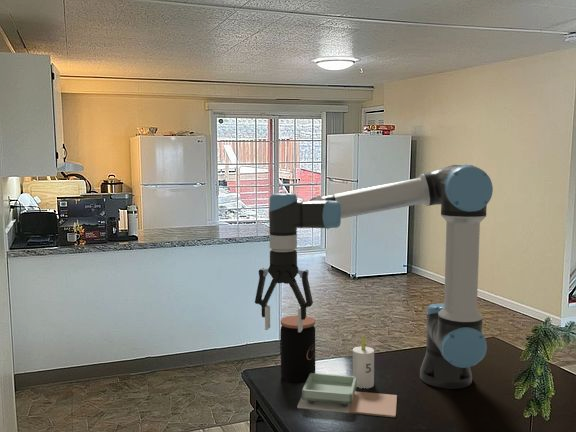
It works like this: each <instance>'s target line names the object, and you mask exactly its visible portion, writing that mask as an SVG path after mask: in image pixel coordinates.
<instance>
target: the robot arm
mask: <svg viewBox="0 0 576 432" xmlns="http://www.w3.org/2000/svg"><path fill="white" fill-rule="evenodd" d="M493 188H494V187H493V182H492V180H491V178H490V176H489V175H488V174H487V173H486V171H484V170H483V169H481V168H480V167H477V166H474V165H472V164H471V165H470V164H464V165H463V164H462V165H461V164H452V165H448V166H445V167H442V168H439V169H436V170H432V171H429V172H424V173H421V174H420V175H419V176H418V177H417V178H412V179H406V180H401V181H396V182H389V183H385V184H380V185H374V186H371V187H370V186H369V187H366V188H364V187H363V188H360V189H355V190H348V191H344V192H338V193H334V194H328V195H323V196H320V195H319V196H317V195H316V196H314V197H312V198H311V199H309V200H298V197H297V196H298V195H297V194H296V193H293V192H291V193H289V192H281V193H280V192H279V193H278V192H277V193H272V194H271V195H270V196H269V208H268V216H269V217H268V219H269V221H268V222H269V224H268V225H269V249H271V250H270V251H269V267H268V268H264V267H262V268H260V269H259V270H258V277H259V279H258V283H257V289H256V294H255V298H254V303H255V305H256V304H257V305H260V306H261V307H260V308H261V317H262V318H264V330H266V331H268V330H270V328H271V304H269V301H270V298H271V297H272V295H273V292H274V290H275V288H276V286H277V284H286V285H289V287H290V288H291V291H292V293H293V294H294V296H295V298H296V300H297V303H298V305H299V306H298V308H297V316H298V332H301V331H302V330H303V320H305V318H306V316H307V308H311V306H312V305H313V304H314V301H313V297H312V296H313V295H312V292H311V288H310V282H309V270H308V269H304V270H303V269H299V267H298V251H297V250H296V249H297V248H298V234H297V233H298V232H297V230H298V229H326V230H328V229H338V228H339V227H340V226H341V221H342V219H347V218H352V217H358V216H361V215H363V216H364V215H367V214H373V213H377V212H378V213H379V212H384V211H389V210H395V209H400V208H405V207H410V206H417V205H421V204H422V205H425V206H426V207H428V206H435V205H436V206H438V205H440V216H441V218H443V219H444V220H445V222H446V228H445V229H446V230H445V263H444V264H445V265H444V267H445V268H444V295H443V296H444V298H443V299H444V300H443V302H441V303H431V304H429V305H428V306H427V310H426V314H425V315H426V350H425V351H426V352H425V356H424V358H423V361H422V362H421V363H422V364H421V366H420V370H419V378H420V380H421V381H422V382H423V383H425V384H427V385H429V386H432V387H435V388H440V389H449V390H456V389H463V388H468V387H469V386H471V385H472V383H473V381H472V380H473V375H472V374H473V373H472V371H471V367H474V366H476V365H477V364H479V362H481V361H482V360H483V359H484V358H485V356H486V354H487V350H488V346H487V343H488V342H487V340H486V337H485V336H484V335H483V317H484V316H483V315H482V313H480V312H479V310H478V291H479V290H478V289H479V286H478V285H479V261H480V260H479V259H480V258H479V257H480V236H481V235H480V233H481V231H480V230H481V222H482V221H483V220H484V219H486V217H487V207H488V206H487V205H488V204H489V202H490V201H491V199H492V197H493V192H494V189H493ZM268 274H269V275H270V276H271V278H272V280H271V282H270V284H269V286H268V289H267V290H266V292H265V294H264V293H263V292H264V289H265V284H266V283H265V282H266V277H268ZM297 275H299V278H300V279H301V282H302V288H303V293H304V296H305V297H304V296H303V294H302V292H301V290H300V287H299V286H298V283H297V280H296V277H297ZM263 294H264V297H263Z"/></svg>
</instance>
